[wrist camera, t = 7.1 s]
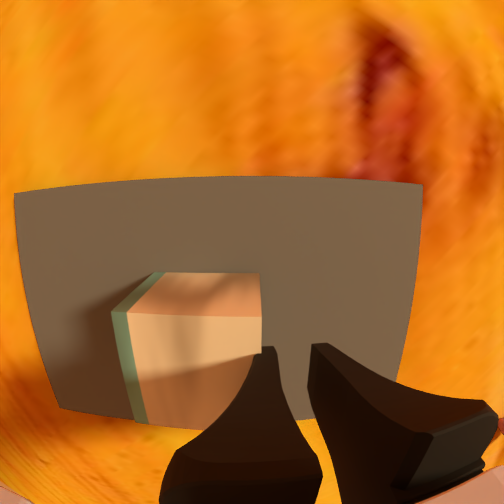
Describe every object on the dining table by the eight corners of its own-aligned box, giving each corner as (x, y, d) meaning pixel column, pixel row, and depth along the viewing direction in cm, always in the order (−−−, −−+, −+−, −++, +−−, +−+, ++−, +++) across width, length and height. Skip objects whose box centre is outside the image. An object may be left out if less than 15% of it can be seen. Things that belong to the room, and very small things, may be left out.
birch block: (258, 365, 15) (164, 362, 15) (259, 272, 14) (154, 272, 14) (259, 431, 10) (135, 422, 10) (261, 316, 9) (110, 311, 9)
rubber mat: (63, 402, 16) (59, 407, 16) (20, 192, 13) (14, 193, 13) (385, 400, 18) (388, 405, 17) (416, 184, 15) (422, 184, 14)
